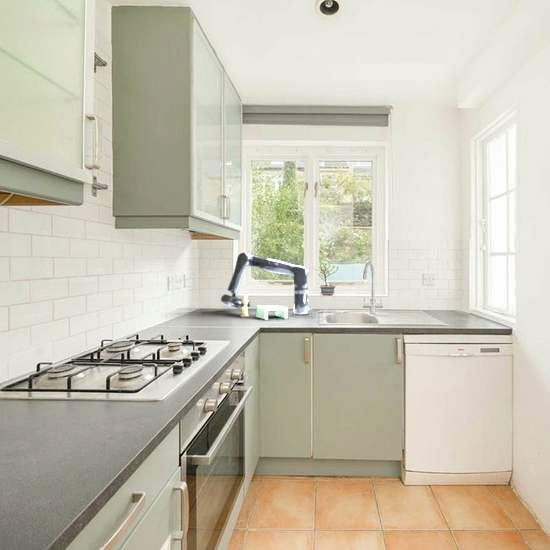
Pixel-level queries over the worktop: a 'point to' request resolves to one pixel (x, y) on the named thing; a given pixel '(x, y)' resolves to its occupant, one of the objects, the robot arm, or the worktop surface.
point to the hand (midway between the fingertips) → (246, 305)
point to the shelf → (263, 310)
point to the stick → (244, 309)
